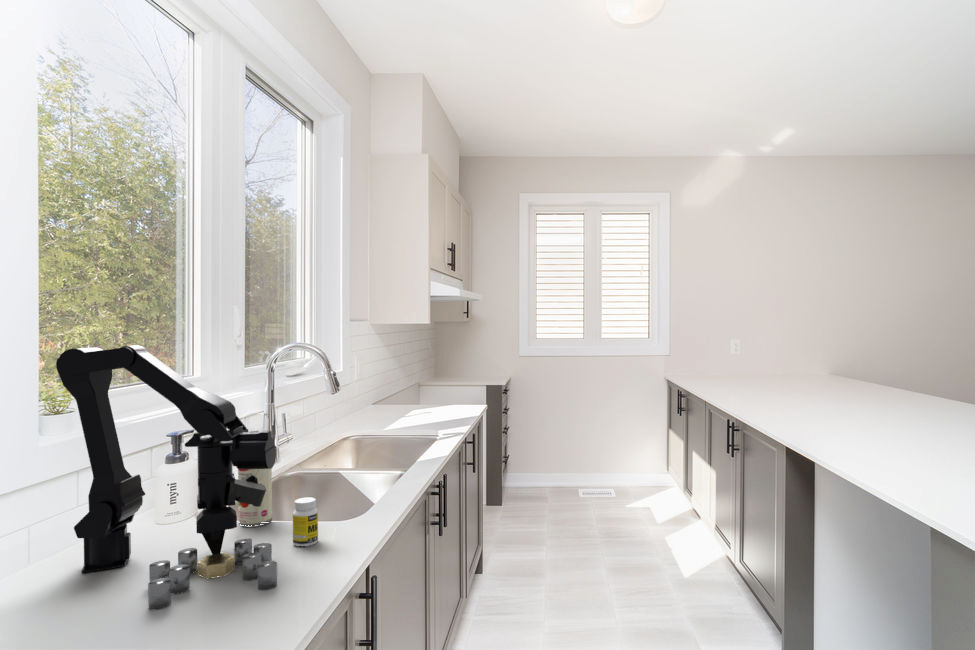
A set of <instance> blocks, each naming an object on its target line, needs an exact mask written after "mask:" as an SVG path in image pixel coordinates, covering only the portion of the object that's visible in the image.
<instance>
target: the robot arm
mask: <svg viewBox="0 0 975 650" xmlns="http://www.w3.org/2000/svg"><path fill="white" fill-rule="evenodd" d="M55 368H56V371H57V374H58V376H59V379H60V381H61V383H62V386H63V388H65V389H66V391H68V393H69V394H70V395H72V397H73V398H74V400H75V402H76V406H77V409H78V411H77V412H78V415H79V420H80V424H81V428H82V431H83V432H82V433H83V437H84V440H85V446H86V449H87V454H88V459H89V463H90V468H91V472H92V477H93V478H92V481H91V485H90V488H89V492H88V496H87V498H88V512H87V513H86V514H85V515H84V516H83V517H82V518H81V519H80V520H79V521H78V522H77V523H76V524H75V525H74V527H73V530H74V533H75V534H76V537H77V538H78V539H83V567H82V568H81V573H83V574H84V573H86V574H87V573H90V572H91V573H92V572H97V571H103V570H109V569H116V568H122V567H125V566H126V564H127V561H128V560H129V559H130V558H131V554H132V538H131V537H132V536H131V532H128V524H129V523H130V524H131V523H132V522H133V520H134V517H135V515H136V513H137V512H138V511H139V510H140V508H141V507H142V506H143V501H144V500H143V499H144V498H143V497H144V496H146V492H145V491H144V489H143V487H142V477H141V475H140V474H139V473H138V474H136V475H131V474H130V472H129V471H128V470H127V469H126V468H125V463H124V461H123V460H124V459H123V455H122V451H121V447H120V442H119V437H118V434H117V433H118V432H117V430H116V429H117V428H116V424H115V419H114V416H113V412H112V406H111V401H110V398H109V397H110V396H109V390H110V386H111V384H112V380H113V370H118V369H119V370H120V369H125V370H127V371H128V372H129V373H131V374H132V375H133V376H135V378H137V379H139V380H141V382H143V383H144V384H146V385H147V386H149V388H151V389H152V390H153V391H155V392H157V393H158V394H159V395H161V396H163V398H165V399H166V400H168V401H169V402H170V403H172V404H173V405H174V406H175V407H176V408H178V410H179V412H180V413H181V415H182V417H183V419H184V420H185V421H186V422H187V423H188V424H189V426H191V428H192V429H193V430H195V433H193V435H192V436H191V438H190V439H188V440H187V441H186V442H185V443H184V446H185V447H186V448H193V447H194V448H196V449H197V493H198V494H197V497H196V501H197V502H196V503H197V505H196V506H197V509H198V510H200V512H199V513H198V514H197V516H196V522H195V523H196V524H195V525H196V534H198V535H199V534H201V535H202V537H203V539H204V541H205V543H206V544H207V546H208V548H209V551H210V553H211V555H214V554H220V553H221V552H222V547H223V543H224V538H225V534H226V530H233V529H235V528H238V519H237V518H238V516H237V511H236V509H235V508H233V507H231V506H236V502H241V503H247V504H252V505H253V506H256V507H260V506H261V503H262V501H263V498H264V495H265V492H266V488H265V486H264V485H262V483H260V484H258V480H257V476H255V475H250V474H249V475H248V476H247V477H246V478H245V479H244V480H243V479H241V480H238V478H236V477H235V473H234V472H233V467H236V469H237V470H238V469H271V468H272V469H273V467H274V465H275V463H276V459H277V446H276V442H275V439H274V437H272V434H273V433H272V430H262V431H259V432H250V431H249V429H248V428H247V427H246V426H245V424H244V423H243V421H241V419H240V418H239V416H238V415H237V413H236V412H237V411H236V407H235V405H234V404H233V403H232V402H231V401H229V400H228V399H225V398H223V397H221V396H219V395H218V394H215V393H212V392H209V391H206V390H203V389H200V388H198V387H197V386H195V385H194V384H193V383H191V382H190V381H188V380H187V379H185V378H184V377H183V376H182V375H180V374H178V373H177V371H175V370H173V369H172V368H171V367H169V366H168V365H167V364H165V363H164V362H162V361H161V360H160V359H158V358H156V356H154V355H153V354H152V353H150V352H148V350H147V349H146V348H145V347H144V346H142V345H134V344H133V345H123V346H120V347H117V348H116V347H115V348H110V349H102V347H101V348H100V347H97V346H96V347H79V348H69V349H66V350H64V351H63V352H62V353H61V354H60V355H59V357H58V358H57V359H56V361H55Z"/></svg>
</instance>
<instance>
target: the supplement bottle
mask: <svg viewBox="0 0 975 650" xmlns="http://www.w3.org/2000/svg"><path fill="white" fill-rule="evenodd" d="M316 506H317V499H316V498H315V497H309V496H308V497H300V498H297V499H295V500H294V509H295V510H294V511H292V544H293V545H294V546H295V547H299V546H302V547H303V546H305V547H310V545H311V546H314V545H315V544H316V543H318V542H319V512H318V511H319V510H318V508H317V507H316Z"/></svg>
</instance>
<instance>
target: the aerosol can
mask: <svg viewBox="0 0 975 650" xmlns="http://www.w3.org/2000/svg"><path fill="white" fill-rule="evenodd" d="M249 432H260V431H259V429H251V430H250V431H249ZM272 469H273V467H272V468H271V469H237V480H241V479H243V480H244V479H245V478H246V477H247V476H248V475H249V474H250V475H255V476H257V480H258V484H260V483H262V485H264V486H265V488H266V492H265V495H264V498H263V501H262V503H261V506H260V507H256V506H253V505H252V504H247V503H241V502H238V525H239V524H241V525H244V526H245V525H246V526H248V525H249V526H251V525H252V526H255V525H260V524H266V525H268V524H267V523H261V522H270V523H272V521H273V483H272V480H273V478H272V475H273V474H272V473H273V472H272ZM239 522H240V523H239Z"/></svg>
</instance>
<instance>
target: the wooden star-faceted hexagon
mask: <svg viewBox="0 0 975 650" xmlns="http://www.w3.org/2000/svg"><path fill="white" fill-rule="evenodd" d="M197 565H198V570H197V576H199V575H201V576H203V577H205V578H204V579H206V578H211V579H213V578H212V577H216V578H218V577H217V576H222V577H225V576H224V575H226V574H228V573H229V572H230V571H231V572H233V571H234V570H235V569H234V568H235V556H234V555H232V554H229V553H227V552H222V553H220V554H214V555H212V554H209V555H206V556H205V557H202V559H200V560H199V561H197ZM233 569H234V570H233ZM231 572H230V573H231ZM230 573H229V574H230ZM229 574H228V575H229ZM201 576H200V577H201ZM226 576H227V575H226ZM203 577H202V578H203Z"/></svg>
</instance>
